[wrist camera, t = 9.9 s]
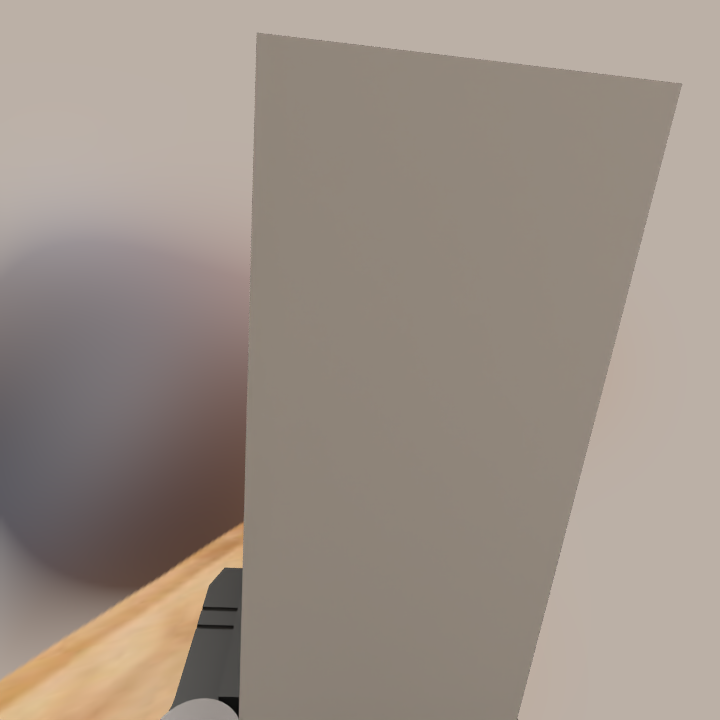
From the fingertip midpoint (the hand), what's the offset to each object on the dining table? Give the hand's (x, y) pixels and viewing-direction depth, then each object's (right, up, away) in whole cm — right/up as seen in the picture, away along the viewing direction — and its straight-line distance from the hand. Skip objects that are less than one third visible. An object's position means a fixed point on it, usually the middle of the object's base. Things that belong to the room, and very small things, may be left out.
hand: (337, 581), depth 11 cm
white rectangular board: (-1, -13, +3) cm, 13 cm away
